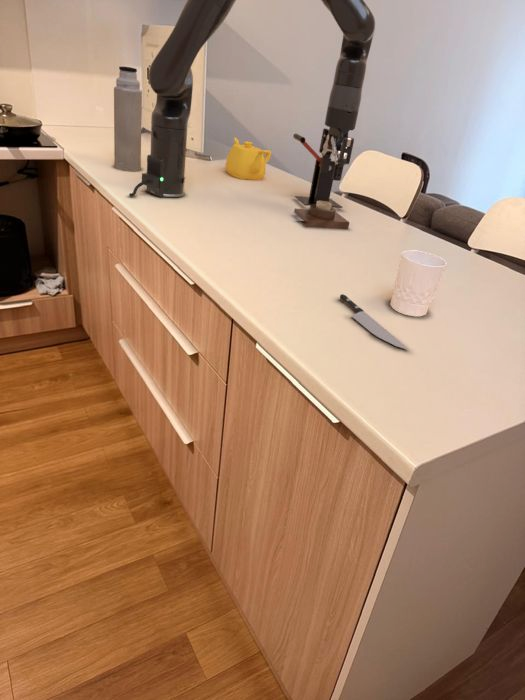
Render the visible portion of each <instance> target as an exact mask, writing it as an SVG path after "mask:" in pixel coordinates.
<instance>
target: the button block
mask: <svg viewBox="0 0 525 700" xmlns="http://www.w3.org/2000/svg"><path fill="white" fill-rule="evenodd" d="M293 213H294V214H296V215H297V216H298V217H299V219H301V220H299V222H300V223H301V224H302V225H303V226H304V227H305V228H312V229H313V228H314V229H330V230H331V229H332V230H349V226H350V221H349V220H347V219H346V218H344V217H343V216H342V215H341V214H339V213H338V212H337V209H336V207H331V210H321V209H318V208H316V204H311V206H309V209H308V208H296V207H295V208H294V211H293Z"/></svg>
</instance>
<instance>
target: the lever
mask: <svg viewBox="0 0 525 700" xmlns="http://www.w3.org/2000/svg"><path fill="white" fill-rule="evenodd" d="M293 139H294V140H296V141H298V142H299V143H300V144H301V145H302V146H303V147H304V148H305V149H306V150H307V151H308V152H309V153H310V154H311V155H312V156H313V157H314V159H315V160H316V159H317V160H318V161H319V162H320V163H319V166H321V161H322V159H321V158H320V157H321V156H320V155H319V154H318V152H317V151H315V150H314V149H313V148H312V146H311V145H309V143H308V142H307V141H306V138H305V137H304V136H302V135H300V134H299V133H294V134H293Z"/></svg>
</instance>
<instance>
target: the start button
mask: <svg viewBox="0 0 525 700" xmlns="http://www.w3.org/2000/svg"><path fill="white" fill-rule="evenodd" d="M331 205H332V204H331V203H330V202H327V201H317V203H316V208H318V209H321V210H331Z"/></svg>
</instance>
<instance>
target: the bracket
mask: <svg viewBox="0 0 525 700" xmlns="http://www.w3.org/2000/svg"><path fill="white" fill-rule="evenodd" d="M319 157H320V158H321V159H322V156H319ZM314 163H315V164H314V169H313V175H312V179H311V185H310V190H309V195H308V196H301V195H295V196H294V198H295V199H297V200H298V201H299V202H300V203H302V204H303V205H304V206H308V207H310V206H311V204H316V203H317V201H327V202H330V203H331V204H332V205H331V207H333V208H339V209H340V208H341V209H343V206H342V205H340V204H339V203H338V202H337V201H335V200H334V199H333V198H330V197H331V193H332V189H333V183H334V180H333V179H332V175H333V170H334V165H335V160H331V161H330V166H329V171H328V173H322V172H320V167H321V166H319V163H320V162H319V161H318V160H317V159H316V158H315V162H314Z"/></svg>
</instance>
